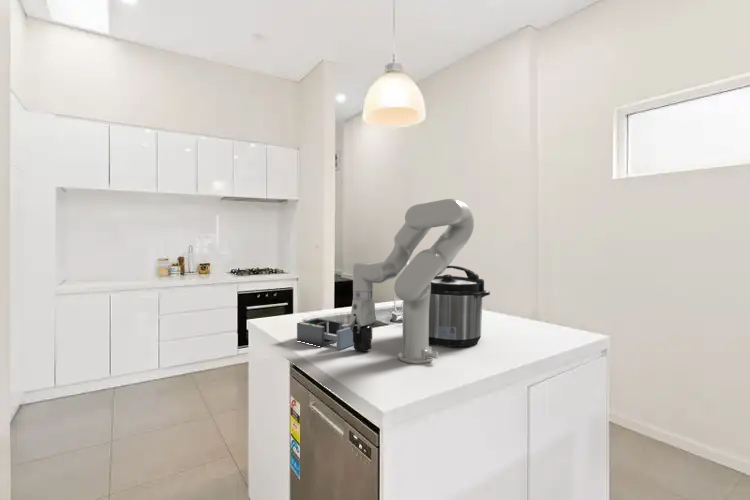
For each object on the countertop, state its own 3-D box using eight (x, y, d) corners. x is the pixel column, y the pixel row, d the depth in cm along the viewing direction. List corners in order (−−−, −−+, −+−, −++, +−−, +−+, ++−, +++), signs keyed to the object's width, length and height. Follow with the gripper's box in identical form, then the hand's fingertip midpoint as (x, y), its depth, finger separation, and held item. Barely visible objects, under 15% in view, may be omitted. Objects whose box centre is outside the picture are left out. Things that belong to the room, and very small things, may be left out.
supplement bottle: (350, 349, 148) (350, 318, 148) (359, 345, 154) (359, 315, 154) (366, 352, 145) (366, 320, 144) (374, 347, 151) (374, 317, 150)
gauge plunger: (355, 343, 158) (355, 322, 157) (336, 350, 148) (336, 328, 148) (331, 338, 165) (331, 318, 165) (311, 345, 155) (311, 323, 155)
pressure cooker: (499, 341, 164) (500, 266, 162) (456, 354, 146) (457, 270, 144) (444, 328, 187) (445, 262, 186) (401, 337, 169) (401, 265, 168)
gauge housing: (341, 341, 163) (341, 321, 163) (322, 347, 154) (321, 326, 153) (317, 336, 171) (317, 317, 171) (297, 342, 162) (297, 322, 161)
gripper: (356, 298, 139) (356, 348, 140) (383, 292, 154) (383, 337, 154) (340, 296, 144) (340, 344, 144) (368, 291, 158) (368, 334, 159)
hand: (362, 340), depth 149 cm, fingers closed on supplement bottle, 6 cm apart
